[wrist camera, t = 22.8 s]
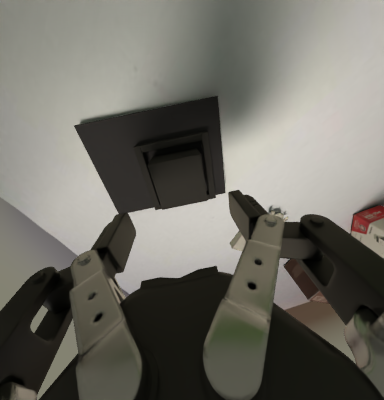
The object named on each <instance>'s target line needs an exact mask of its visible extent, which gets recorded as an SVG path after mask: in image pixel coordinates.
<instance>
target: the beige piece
mask: <svg viewBox="0 0 384 400" xmlns="http://www.w3.org/2000/svg"><path fill="white" fill-rule="evenodd" d="M271 214H272V215H275V211H271ZM276 216H279V217H281V218H283V216H284V215H283V214H280V213H278V214H276ZM283 220H284V222H285V221H286V220H288V217H286V218H284V219H283ZM245 244H246V241H245V239H244V237H243V236H242V234H241V232H240V231H239V232H238V233H237V235H236V236H235V237H234V239H233V240H232V241H231V242H230V245H231V247H232V248H233V249H236V250H239V251H243V249H244V246H245Z"/></svg>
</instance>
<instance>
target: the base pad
mask: <svg viewBox="0 0 384 400" xmlns="http://www.w3.org/2000/svg"><path fill="white" fill-rule="evenodd" d="M74 127H75V129H76V131H77V133H78V135H79V137H80V139H81V141H82V142H83V144H84V146H85V148H86V150H87V152H88V154H89V156H90V158H91V160H92V162H93V164H94V166H95V168H96V170H97V172H98V174H99V176H100V178H101V180H102V182H103V184H104V186H105V188H106V190H107V192H108V193H109V195H110V197H111V199H112V201H113V203H114V205H115V207H116V209H117V211H118V213H119V214H122V213H129V212H134V211H138V210H143V209H148V208H153V207H155V210H158V209H162V207H161V204H160V201H159V198H158V195H157V192H156V189H155V186H154V183H153V180H152V177H151V174H150V171H149V168H148V163H149V162H150V160H151V158H152V157H153V156H156V155H161V154H165V153H170V152H175V151H180V150H184V149H189V148H194V147H196V148H197V149H198V151H199V152H200V154H201V159H202V166H203V172H204V179H205V186H206V192H207V199H213V198H216V196H215V195H217V194H222V193H225V183H224V170H223V157H222V145H221V132H220V120H219V107H218V96H214V97H209V98H205V99H200V100H195V101H190V102H185V103H181V104H176V105H171V106H166V107H161V108H156V109H152V110H147V111H142V112H137V113H132V114H128V115H123V116H118V117H113V118H108V119H104V120H99V121H94V122H89V123H84V124H79V125H75V126H74Z"/></svg>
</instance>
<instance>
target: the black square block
mask: <svg viewBox="0 0 384 400" xmlns="http://www.w3.org/2000/svg"><path fill="white" fill-rule="evenodd" d="M148 168H149V171H150V174H151V177H152V180H153V183H154V186H155V189H156V192H157V195H158V198H159V201H160V204H161V207H162V210H163V209H168V208H173V207H178V206H183V205H188V204H192V203H197V202H202V201H207V200H208V199H207V192H206V186H205V179H204V172H203V166H202V159H201V154H200V152H199V151H198V149H197V148H196V147H194V148H189V149H184V150H180V151H175V152H170V153H165V154H161V155H156V156H153V157H152V158H151V160H150V162H149V163H148Z"/></svg>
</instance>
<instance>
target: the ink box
mask: <svg viewBox="0 0 384 400" xmlns="http://www.w3.org/2000/svg"><path fill="white" fill-rule="evenodd" d="M351 235H352V236H353V237H354V238H356V239H357V240H359V241H360V242H361V243H363V244H364V245H366V246H367V247H368V248H370V249H371V250H373V251H374V252H375V253H377V254H378V255H379V256H381V257H382V258H384V207H383V206H381V205H379V206H376V207H373V208H370V209H367V210H365V211H362V212H360V213H357V214H355V215H354V217H353V223H352V230H351Z"/></svg>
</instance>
